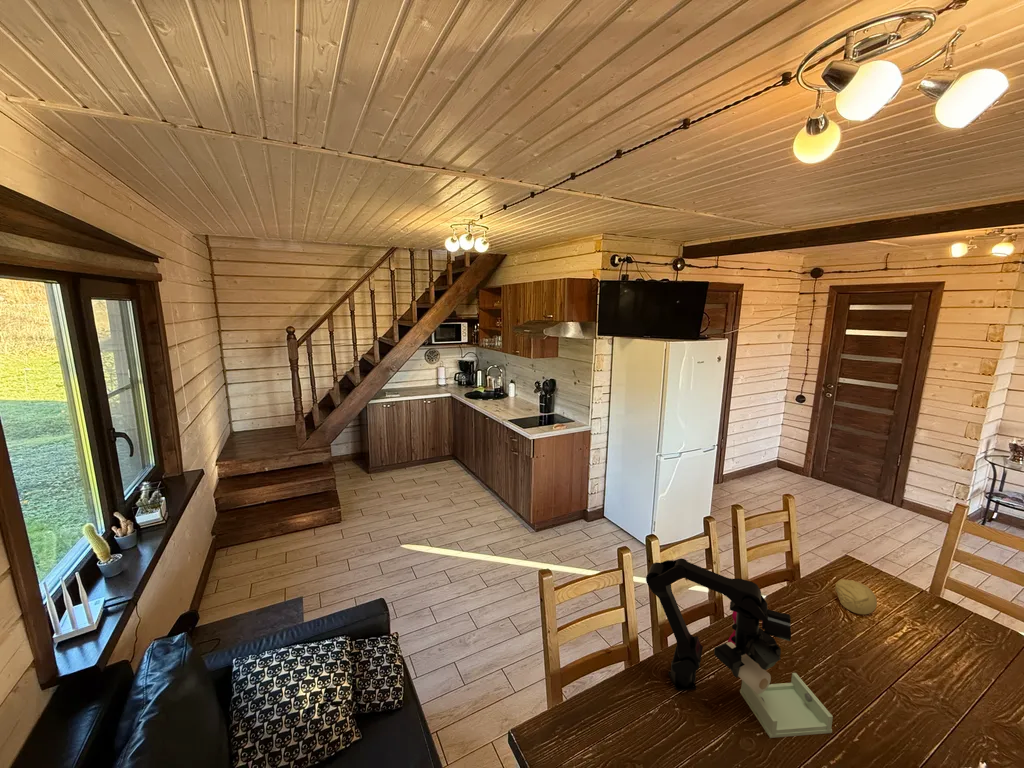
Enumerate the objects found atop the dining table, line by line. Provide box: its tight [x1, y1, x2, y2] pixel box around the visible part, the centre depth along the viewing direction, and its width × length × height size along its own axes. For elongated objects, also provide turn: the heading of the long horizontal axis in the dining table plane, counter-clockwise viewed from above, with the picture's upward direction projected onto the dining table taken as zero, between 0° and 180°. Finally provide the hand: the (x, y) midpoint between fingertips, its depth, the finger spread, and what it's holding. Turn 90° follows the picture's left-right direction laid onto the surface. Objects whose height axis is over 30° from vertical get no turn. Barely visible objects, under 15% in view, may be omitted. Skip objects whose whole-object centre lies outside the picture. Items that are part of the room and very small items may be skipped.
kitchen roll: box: [726, 641, 772, 694], centre depth 122 cm, size 13×6×6 cm, turn 22°
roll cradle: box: [739, 672, 834, 739], centre depth 122 cm, size 18×14×6 cm
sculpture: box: [834, 578, 878, 615], centre depth 162 cm, size 12×12×11 cm
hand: (743, 672), depth 122 cm, fingers closed on kitchen roll, 6 cm apart
